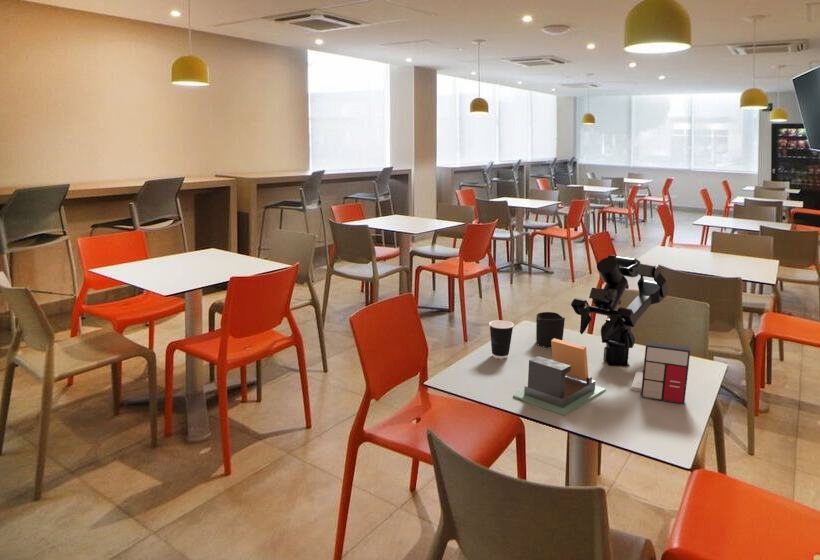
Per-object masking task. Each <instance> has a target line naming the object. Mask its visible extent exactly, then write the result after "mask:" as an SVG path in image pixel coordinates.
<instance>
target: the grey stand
mask: <svg viewBox="0 0 820 560" xmlns="http://www.w3.org/2000/svg"><path fill="white" fill-rule="evenodd" d="M570 370H571V366H570V365H567V364H563V363H560V362H557V361H553V359H550V358H546V357H543V356H538V355H537V356H536V357H534V358H531V359H529V360H528V373H527V375H528V376H527V384H526V385H524V387H523V388H524V389H523V390H524V395H526V396H529V397H532V398H535V399H538V400H541V401H544V402H546V403H549V404H552V405H555V406H558V407H561V408H564V407H566V406H567V405H569V404H571V403H572V402H574V401H576V400H578V399H579V398H581V397H583V396H584V395H586V394H588V393H589V392H591V391H593V390H595V386H596V380H594V379H593V377H592V376H588V378H587V382H585V381H582V380H578V379H575V378H572V377H569V376H565V374H566V373H568V372H569V371H570Z"/></svg>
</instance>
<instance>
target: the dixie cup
mask: <svg viewBox="0 0 820 560" xmlns="http://www.w3.org/2000/svg"><path fill="white" fill-rule="evenodd" d="M488 325H489V332H490V343H491V354H492V357H493V358H494V357H495V358H494V359H497V358H499V360H504V359H503V358H505V359H507V358H509V357H508V356H509V354H510V348H511V341H512V335H513V329H514V326H515V324H514V323H513V322H512V321H510V320H509V321H508V320H498V319H497V320H492V321H489V323H488Z"/></svg>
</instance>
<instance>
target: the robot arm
mask: <svg viewBox="0 0 820 560" xmlns="http://www.w3.org/2000/svg"><path fill="white" fill-rule="evenodd" d="M596 269H597V271H598V274H599V275H600V277H601V279H602V281H603V282H604V287H603V288H599V287H591V289H590V291H589V292H590V293H589V296H588V298H589V299H591V300H592V303H593V305H590V304H589V302H588V301H587V299H582V298H577V297H576V298H573V300H572V301H571V303H570V305H571V307H572V309H573V311H574V313H575V314H577V315H579V316H580V326H579V333H580V335H583V334H584V333H585V331H586V329H587V328H588V327H589V324H590V323H591V321H592V320H593V319H592V317H591V313H593V314H598V315H601V316H607V317H608V318H607V319H605V322H604V323H603V324H602V326H601V328H600V337H601V338H600V339H601V343H603V344H606V345H605V346H604V348H603V360H604V361H605V363H606V364H607V365H608V366H610V367H629V366H630V363H629V353H630V352H629V350H630V349H632V348H634V345H635V341H636V338H635V335H634V334H633V331H632V328H634V327H635V325H636V324H637V321H638V320H640V318H641V317H642V316H643V315H644V314H645V312H646V311H647V310H648V309H649V307H650V306H652V305H655V304H659V303H661V302H662V301H663V300H664V299H665V298H666V297H667V296H668V292H669V290H668V283H667V279H666V278H665V277H664V276H663V274H662V273H661V271H660V267H659V266H657V265H653V264H644V263H641V261H640V260H639V259H637V258H634V257H627V256H619V255H613V254H608V255H607V257H604V258H602V259H601V260H599V261H598V262H597V264H596ZM638 276H640V278H639V280H638V281H637V288H638V289H637V290H638V295H637V296H635V298H634V299H633V300H632V301H631V302H630V304H628V306H627V307H618V305H621V304H622V300H621V299H622V297H623V295H624V293H625V291H626V290H629V289H630V287H629V282H628V279H627V278H626V277H628V278H637V277H638ZM644 278H652V279H653V280H648V279H647V280H646V279H644ZM617 308H618V309H617Z"/></svg>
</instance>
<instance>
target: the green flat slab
mask: <svg viewBox="0 0 820 560" xmlns="http://www.w3.org/2000/svg"><path fill="white" fill-rule="evenodd" d="M604 392H606V388H604V387H601V386H598V385H595V390H593V391H591V392H589V393H588V394H586V395H584V396H583V397H581V398H579V399H578V400H576V401H574V402H572V403H571V404H569V405H567V406H566V407H564V408H561V407H558V406H555V405H552V404H549V403H546V402H544V401H541V400H538V399H535V398H532V397H529V396H526V395H524V389H522V390H521V391H519V392H517V393H514V394H513V395H512V398H514V399H517V400H519V401H522V402H526V403H527V404H531V405H534V406H536V407H538V408H539V407H540V408H542V409H546V410H548V411H551V412H554V413H556V414H559V415H562V416H565V417H566V416H567V415H568V414H570V413H571V412H573V411H575V410H576V409H578V408H579V407H582V405H585V404H586V403H588V402H589V400H590V401H591V400H593V399H595V398H596V397H598V396H599V395H601V394H602V393H604ZM597 395H598V396H597ZM594 397H595V398H594ZM584 403H585V404H584Z"/></svg>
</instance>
